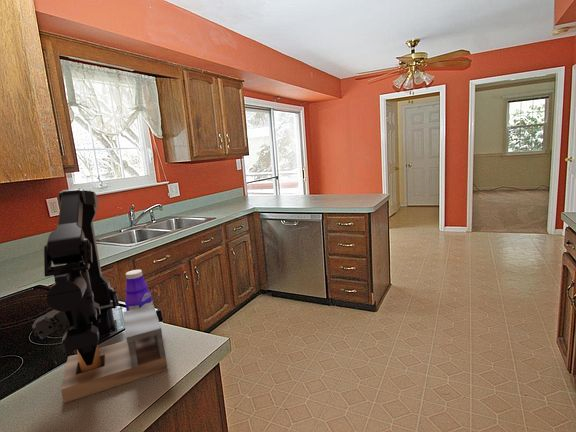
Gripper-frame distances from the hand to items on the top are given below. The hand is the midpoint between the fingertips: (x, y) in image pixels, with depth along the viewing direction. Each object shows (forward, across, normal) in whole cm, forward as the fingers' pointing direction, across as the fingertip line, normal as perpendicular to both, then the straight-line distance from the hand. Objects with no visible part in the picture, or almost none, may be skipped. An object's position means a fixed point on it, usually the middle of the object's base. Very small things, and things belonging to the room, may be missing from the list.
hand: (90, 360), depth 79 cm
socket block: (+4, 0, +5) cm, 6 cm away
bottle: (+4, -16, +12) cm, 20 cm away
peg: (+2, 0, 0) cm, 2 cm away
